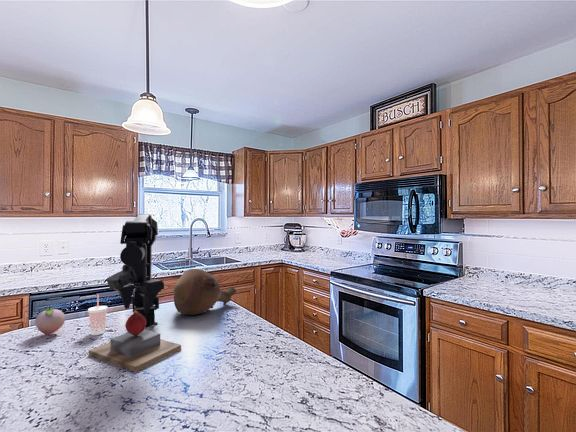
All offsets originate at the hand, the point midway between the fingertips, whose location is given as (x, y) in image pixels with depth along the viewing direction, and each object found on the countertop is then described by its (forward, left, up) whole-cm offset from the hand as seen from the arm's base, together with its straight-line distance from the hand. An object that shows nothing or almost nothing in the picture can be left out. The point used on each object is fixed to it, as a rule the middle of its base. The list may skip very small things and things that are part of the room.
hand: (136, 310), depth 94 cm
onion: (0, 0, -8) cm, 8 cm away
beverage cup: (-27, +4, -13) cm, 30 cm away
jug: (-10, +42, -13) cm, 45 cm away
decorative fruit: (-40, -5, -13) cm, 42 cm away
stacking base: (0, 0, -13) cm, 13 cm away
